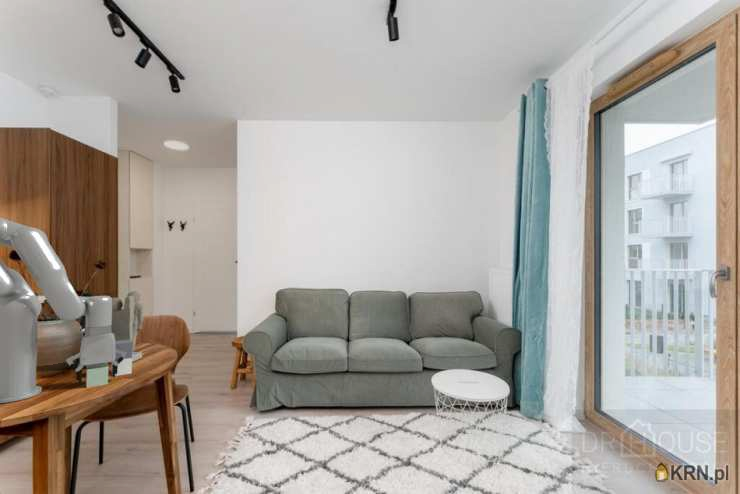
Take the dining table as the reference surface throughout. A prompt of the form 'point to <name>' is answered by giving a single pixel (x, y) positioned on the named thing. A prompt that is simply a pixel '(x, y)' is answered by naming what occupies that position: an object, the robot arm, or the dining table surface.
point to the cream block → (124, 367)
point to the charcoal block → (124, 348)
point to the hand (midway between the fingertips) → (97, 379)
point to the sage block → (97, 375)
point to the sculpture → (127, 320)
